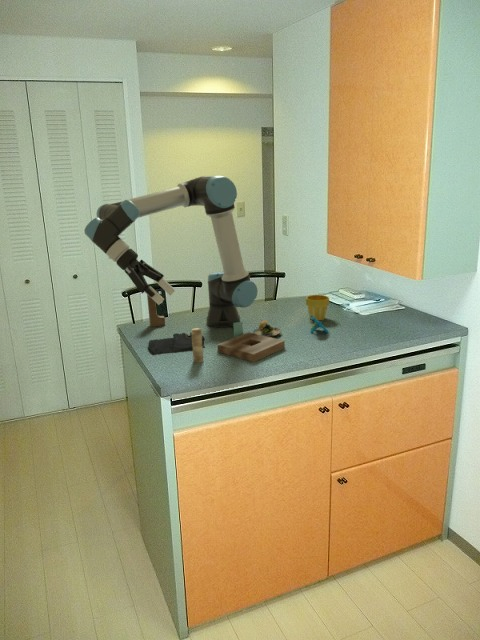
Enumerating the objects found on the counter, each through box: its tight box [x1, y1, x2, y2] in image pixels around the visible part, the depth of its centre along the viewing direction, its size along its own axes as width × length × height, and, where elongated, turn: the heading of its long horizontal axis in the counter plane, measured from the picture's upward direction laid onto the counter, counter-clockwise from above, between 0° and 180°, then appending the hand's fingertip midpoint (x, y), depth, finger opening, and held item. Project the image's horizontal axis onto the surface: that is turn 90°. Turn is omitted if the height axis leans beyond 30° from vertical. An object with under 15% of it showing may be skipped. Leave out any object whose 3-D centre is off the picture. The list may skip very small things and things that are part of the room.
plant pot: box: [305, 294, 330, 321], centre depth 230 cm, size 10×10×10 cm
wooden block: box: [146, 294, 166, 328], centre depth 230 cm, size 7×3×15 cm, turn 106°
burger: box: [252, 320, 282, 338], centre depth 211 cm, size 12×12×8 cm
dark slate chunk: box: [147, 331, 206, 356], centre depth 203 cm, size 15×22×5 cm
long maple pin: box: [190, 327, 204, 364], centre depth 185 cm, size 4×4×12 cm
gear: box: [309, 315, 330, 334], centre depth 212 cm, size 11×6×10 cm
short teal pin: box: [232, 321, 244, 338], centre depth 206 cm, size 4×4×7 cm
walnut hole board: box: [216, 331, 286, 363], centre depth 195 cm, size 18×18×3 cm
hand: (167, 297), depth 181 cm, fingers open, 13 cm apart
